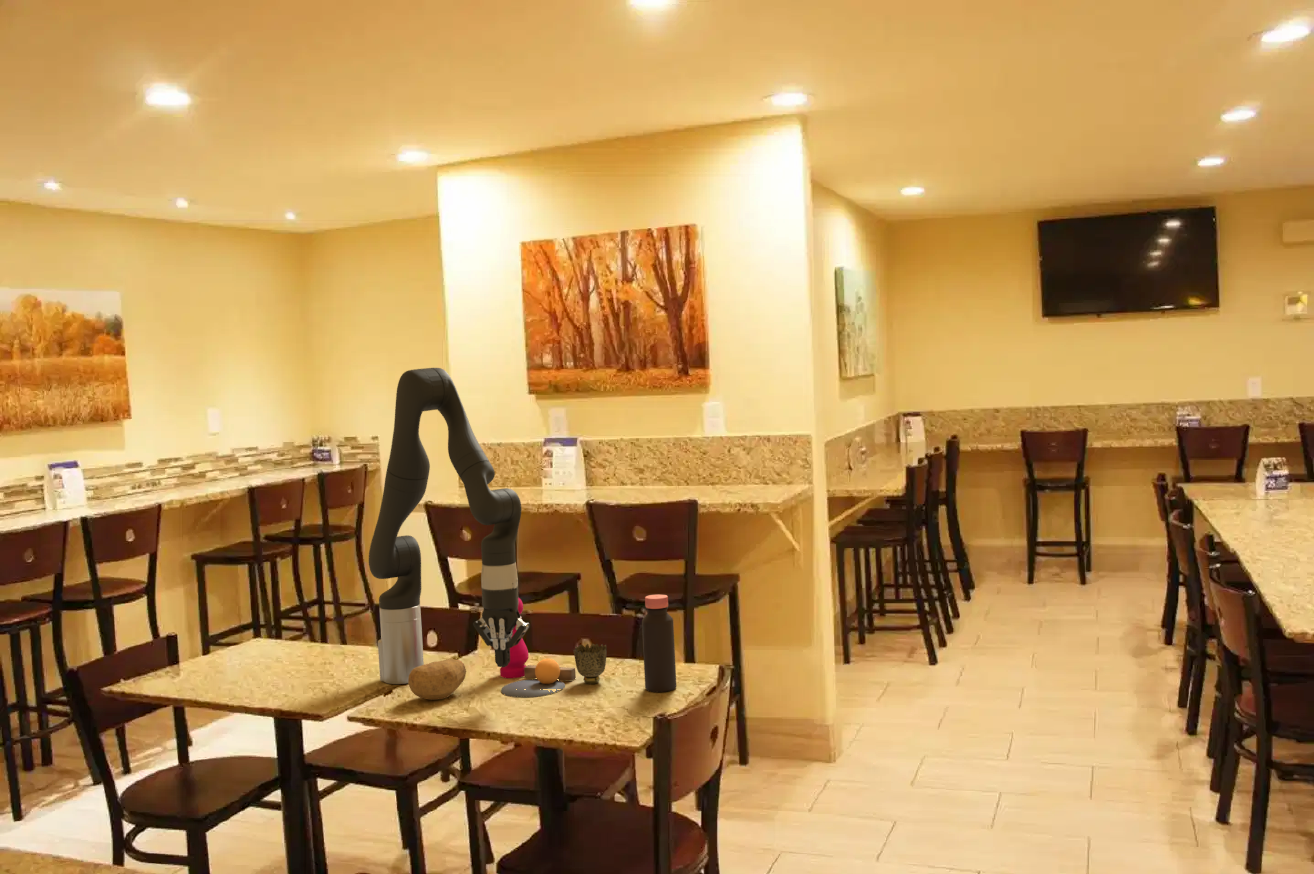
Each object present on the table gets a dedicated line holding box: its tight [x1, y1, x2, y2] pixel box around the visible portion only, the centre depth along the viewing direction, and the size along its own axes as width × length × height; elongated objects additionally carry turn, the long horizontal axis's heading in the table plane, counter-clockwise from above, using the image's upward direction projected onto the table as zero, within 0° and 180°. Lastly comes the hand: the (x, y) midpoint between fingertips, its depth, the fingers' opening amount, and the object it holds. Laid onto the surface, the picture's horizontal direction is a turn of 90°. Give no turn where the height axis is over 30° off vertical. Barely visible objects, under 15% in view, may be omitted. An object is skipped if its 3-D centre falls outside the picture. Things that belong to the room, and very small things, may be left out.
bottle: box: [641, 593, 677, 693], centre depth 232 cm, size 7×7×20 cm
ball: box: [535, 658, 561, 684], centre depth 241 cm, size 6×6×6 cm
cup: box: [572, 643, 608, 685], centre depth 240 cm, size 8×7×8 cm
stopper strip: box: [524, 664, 577, 681], centre depth 245 cm, size 12×2×2 cm, turn 68°
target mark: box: [500, 678, 566, 698], centre depth 238 cm, size 14×14×1 cm
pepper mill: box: [499, 597, 530, 679], centre depth 250 cm, size 7×7×20 cm
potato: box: [407, 658, 467, 701], centre depth 234 cm, size 10×14×8 cm
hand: (503, 665), depth 227 cm, fingers closed
